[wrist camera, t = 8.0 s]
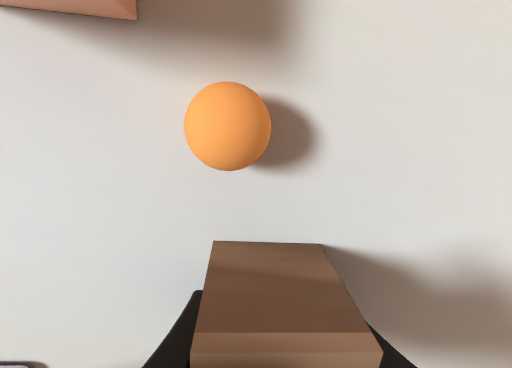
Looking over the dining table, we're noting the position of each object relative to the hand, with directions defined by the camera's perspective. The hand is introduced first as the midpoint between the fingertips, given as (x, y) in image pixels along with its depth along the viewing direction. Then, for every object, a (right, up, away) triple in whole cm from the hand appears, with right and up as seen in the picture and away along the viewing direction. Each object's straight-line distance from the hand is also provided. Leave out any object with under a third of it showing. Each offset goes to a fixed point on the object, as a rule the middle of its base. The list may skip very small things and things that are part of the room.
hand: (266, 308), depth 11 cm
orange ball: (-2, +8, -1) cm, 8 cm away
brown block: (0, 0, +1) cm, 1 cm away
